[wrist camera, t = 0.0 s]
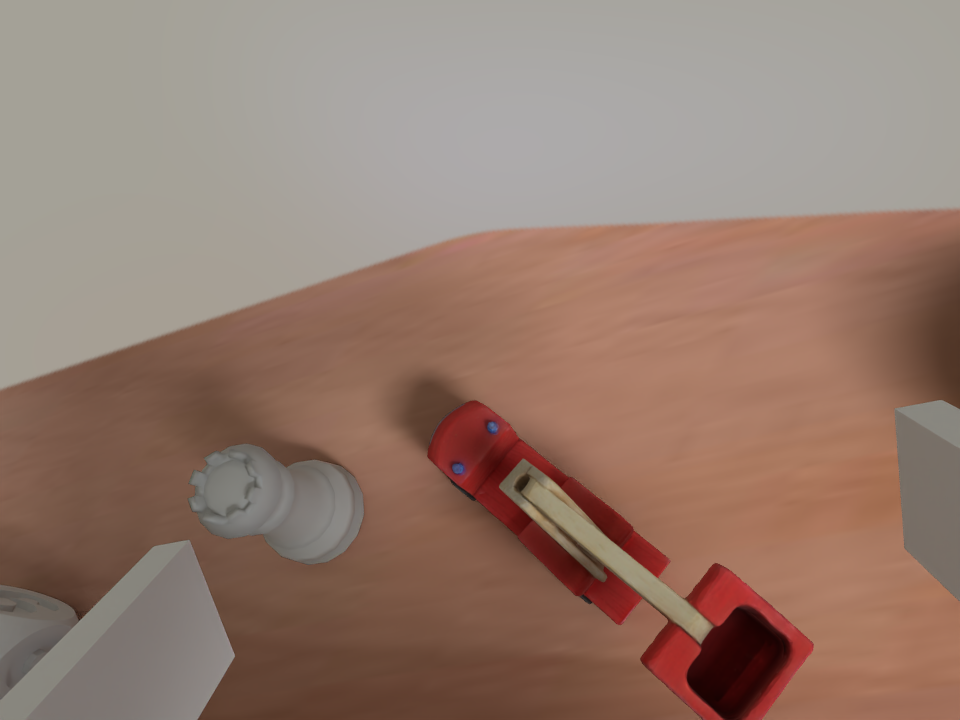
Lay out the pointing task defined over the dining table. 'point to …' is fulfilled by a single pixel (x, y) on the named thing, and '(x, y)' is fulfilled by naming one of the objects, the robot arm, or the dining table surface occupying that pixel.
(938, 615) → the dining table surface
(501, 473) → the toy fire truck
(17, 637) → the die
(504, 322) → the dining table surface
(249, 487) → the rook chess piece
